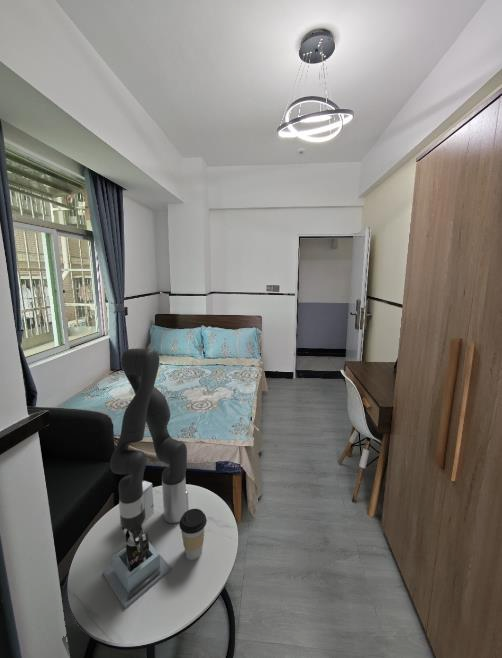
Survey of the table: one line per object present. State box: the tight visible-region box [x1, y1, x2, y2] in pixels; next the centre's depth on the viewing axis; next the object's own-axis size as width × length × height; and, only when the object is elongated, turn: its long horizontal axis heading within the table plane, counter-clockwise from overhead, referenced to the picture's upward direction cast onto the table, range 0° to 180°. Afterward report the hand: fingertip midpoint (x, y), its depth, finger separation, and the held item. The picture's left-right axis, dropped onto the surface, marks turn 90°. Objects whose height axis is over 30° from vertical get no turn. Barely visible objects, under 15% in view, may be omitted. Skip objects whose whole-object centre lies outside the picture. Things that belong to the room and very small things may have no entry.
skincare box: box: [142, 480, 155, 527], centre depth 118 cm, size 8×6×15 cm
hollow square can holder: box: [102, 542, 172, 610], centre depth 98 cm, size 16×16×6 cm
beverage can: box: [125, 536, 146, 572], centre depth 97 cm, size 6×6×12 cm
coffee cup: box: [179, 508, 208, 561], centre depth 104 cm, size 9×9×15 cm
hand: (135, 550), depth 97 cm, fingers open, 8 cm apart
